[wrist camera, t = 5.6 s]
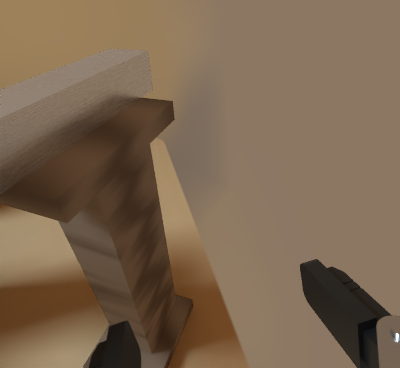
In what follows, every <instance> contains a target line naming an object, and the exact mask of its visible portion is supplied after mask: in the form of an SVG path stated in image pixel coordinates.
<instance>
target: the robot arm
mask: <svg viewBox="0 0 400 368" xmlns="http://www.w3.org/2000/svg"><path fill="white" fill-rule="evenodd" d="M300 271H301V278H302V285H303V292H304V295H305V297H306V300H307V301H308V303H309V305H310V306H311V307H312V309H313V310H314V311H315V313H316V314H317V315H318V317H319V318H320V319H321V321H322V322H323V323H324V324H325V326H326V327H327V328H328V330H329V331H330V332H331V334H332V335H333V336H334V337H335V339H336V340H337V342H338V343H339V344H340V346H341V347H342V348H343V350H344V351H345V352H346V354H347V355H348V356H349V357H350V359H351V360H352V361H353V363H354V364H355V365H356V367H357V368H400V316H392V315H391V314H390V313H388V312H387V311H386V310H385V309H384V308H383V307H382V306H381V305H380V304H378V303H377V302H376V301H375V300H374V299H373V298H372V297H371V296H370V295H369V294H368V293H366V292H365V291H364V290H363V289H361V288H360V286H359V285H358V284H357V283H355V282H353V280H352V279H351V278H350V277H349V276H348V275H347V274H346V273H344V272H343V271H341V270H338V269H336V268H334V267H330V268H326V267H325V266H324V265H323V264H322V263H321V262H319V260H317V259H315V260H312V261H308V262H305V263H302V264H301V265H300ZM89 368H141V352H140V347H139V344H138V342H137V340H136V337H135V335H134V333H133V330H132V328H131V326H130V323H129V322H128V321H127V320H126V321H123V322H120V323H117V324H114V325H110V326H109V329H108V334H107V339H106V341H103V342H100V343H99V344H98V345H97V347H96V349H95V351H94V352H93V354H92V356H91V360H90V364H89Z"/></svg>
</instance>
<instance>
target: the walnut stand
mask: <svg viewBox="0 0 400 368" xmlns="http://www.w3.org/2000/svg"><path fill="white" fill-rule="evenodd" d="M173 120H174V111H173V101H166V100H157V99H148V98H140V99H139V100H137V101H136V102H134V103H133V104H131V105H130V106H128V107H127V108H125V109H124V110H123V111H121V112H120V113H118V114H117V115H115V116H114V117H112V118H111V119H109V120H108V121H106V122H105V123H104V124H102V125H101V126H99V127H98V128H96V129H95V130H93V131H92V132H90V133H89V134H88V135H86V136H85V137H83V138H82V139H80V140H79V141H77V142H76V143H74V144H73V145H72V146H70V147H69V148H67V149H66V150H64V151H63V152H61V153H60V154H58V155H57V156H56V157H54V158H53V159H51V160H50V161H48V162H47V163H45V164H44V165H42V166H41V167H39V168H38V169H37V170H35V171H34V172H32V173H31V174H29V175H28V176H26V177H25V178H23V179H22V180H21V181H19V182H18V183H16V184H15V185H13V186H12V187H10V188H9V189H7V190H6V191H5V192H3V193H2V194H0V204H4V205H7V206H10V207H14V208H17V209H21V210H24V211H27V212H31V213H34V214H37V215H41V216H44V217H48V218H51V219H54V220H58V221H59V223H60V225H61V227H62V229H63V231H64V233H65V235H66V237H67V239H68V241H69V243H70V245H71V247H72V249H73V251H74V253H75V256H76V258H77V260H78V262H79V264H80V266H81V268H82V270H83V272H84V274H85V276H86V278H87V280H88V282H89V284H90V286H91V288H92V290H93V292H94V294H95V296H96V298H97V300H98V302H99V304H100V306H101V308H102V310H103V312H104V314H105V316H106V318H107V320H108V322H109V326H110V325H114V324H117V323H120V322H123V321H126V320H127V321H128V322H129V323H130V326H131V328H132V330H133V333H134V335H135V337H136V340H137V342H138V344H139V347H140V352H141V368H167V367H168V365H169V362H170V360H171V357H172V355H173V352H174V350H175V348H176V345H177V343H178V340H179V338H180V335H181V333H182V331H183V328H184V326H185V323H186V321H187V318H188V316H189V314H190V311H191V309H192V306H193V303H192V300H190V299H187V298H185V297H182V296H179V295H176V294H175V292H174V286H173V280H172V274H171V268H170V262H169V256H168V250H167V244H166V238H165V232H164V226H163V220H162V214H161V208H160V202H159V196H158V190H157V184H156V178H155V172H154V166H153V160H152V154H151V148H150V143H151V142H152V141H153V140H154V139H155V138H156V137H157V136H158V135H159V134H160V133H161V132H162V131H163V130H164V129H165V128H166V127H167V126H168V125H169V124H170V123H171V122H172V121H173ZM109 326H108V328H107V329H106V331H105V332H104V334H103V336H102V337H101V339H100V340H99V342H98V344H99V343H100V342H103V341H106V339H107V334H108V329H109ZM98 344H97V345H98ZM97 345H96V347H97ZM96 347H95V348H94V350H93V352H94V351H95V349H96ZM93 352H92V353H91V355H90V356H89V358H88V360H87V361H86V363H85V364H84V366H83V368H89V364H90V360H91V356H92V354H93Z"/></svg>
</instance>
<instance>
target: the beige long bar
mask: <svg viewBox="0 0 400 368" xmlns="http://www.w3.org/2000/svg"><path fill="white" fill-rule="evenodd" d="M152 90H153V84H152V77H151V69H150V62H149V55H148V51H144V50H123V49H109V50H106V51H103V52H100V53H98V54H95V55H92V56H90V57H87V58H84V59H82V60H79V61H76V62H73V63H71V64H68V65H65V66H63V67H60V68H57V69H54V70H52V71H49V72H47V73H44V74H41V75H38V76H36V77H33V78H30V79H28V80H25V81H22V82H20V83H17V84H14V85H11V86H9V87H6V88H3V89H1V90H0V194H2V193H3V192H5V191H6V190H7V189H9V188H10V187H12V186H13V185H15V184H16V183H18V182H19V181H21V180H22V179H23V178H25V177H26V176H28V175H29V174H31V173H32V172H34V171H35V170H37V169H38V168H39V167H41V166H42V165H44V164H45V163H47V162H48V161H50V160H51V159H53V158H54V157H56V156H57V155H58V154H60V153H61V152H63V151H64V150H66V149H67V148H69V147H70V146H72V145H73V144H74V143H76V142H77V141H79V140H80V139H82V138H83V137H85V136H86V135H88V134H89V133H90V132H92V131H93V130H95V129H96V128H98V127H99V126H101V125H102V124H104V123H105V122H106V121H108V120H109V119H111V118H112V117H114V116H115V115H117V114H118V113H120V112H121V111H123V110H124V109H125V108H127V107H128V106H130V105H131V104H133V103H134V102H136V101H137V100H139V99H140V98H141V97H143V96H144V95H146V94H147V93H149V92H150V91H152Z"/></svg>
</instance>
